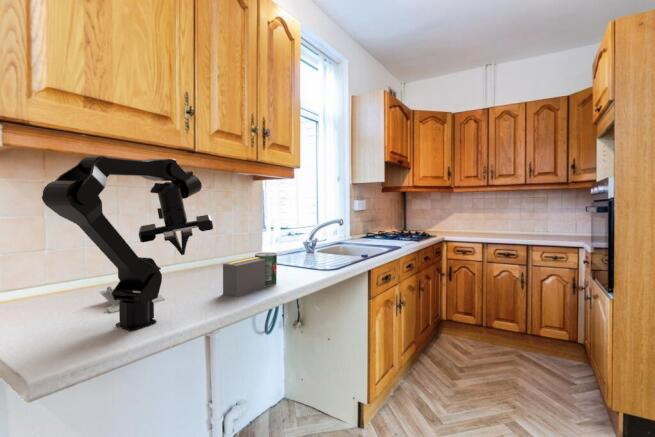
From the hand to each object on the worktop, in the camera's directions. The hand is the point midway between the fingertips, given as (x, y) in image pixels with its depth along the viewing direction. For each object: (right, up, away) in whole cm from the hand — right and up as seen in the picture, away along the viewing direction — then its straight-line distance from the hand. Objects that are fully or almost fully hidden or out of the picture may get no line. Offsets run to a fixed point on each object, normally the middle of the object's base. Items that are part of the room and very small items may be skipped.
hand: (182, 254), depth 96 cm
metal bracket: (-16, -15, +1) cm, 22 cm away
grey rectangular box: (+14, -14, +15) cm, 25 cm away
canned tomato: (+20, -14, +25) cm, 34 cm away
